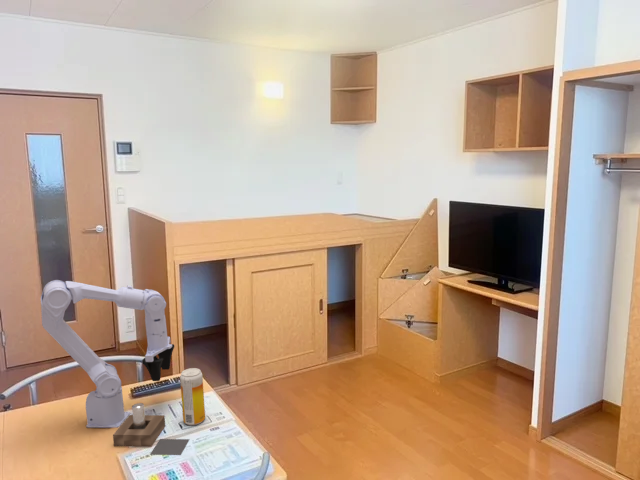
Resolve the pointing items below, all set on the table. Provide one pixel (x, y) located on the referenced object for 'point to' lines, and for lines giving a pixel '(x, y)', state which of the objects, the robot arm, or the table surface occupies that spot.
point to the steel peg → (138, 416)
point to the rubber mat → (169, 447)
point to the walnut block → (139, 432)
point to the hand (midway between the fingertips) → (161, 374)
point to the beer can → (192, 396)
